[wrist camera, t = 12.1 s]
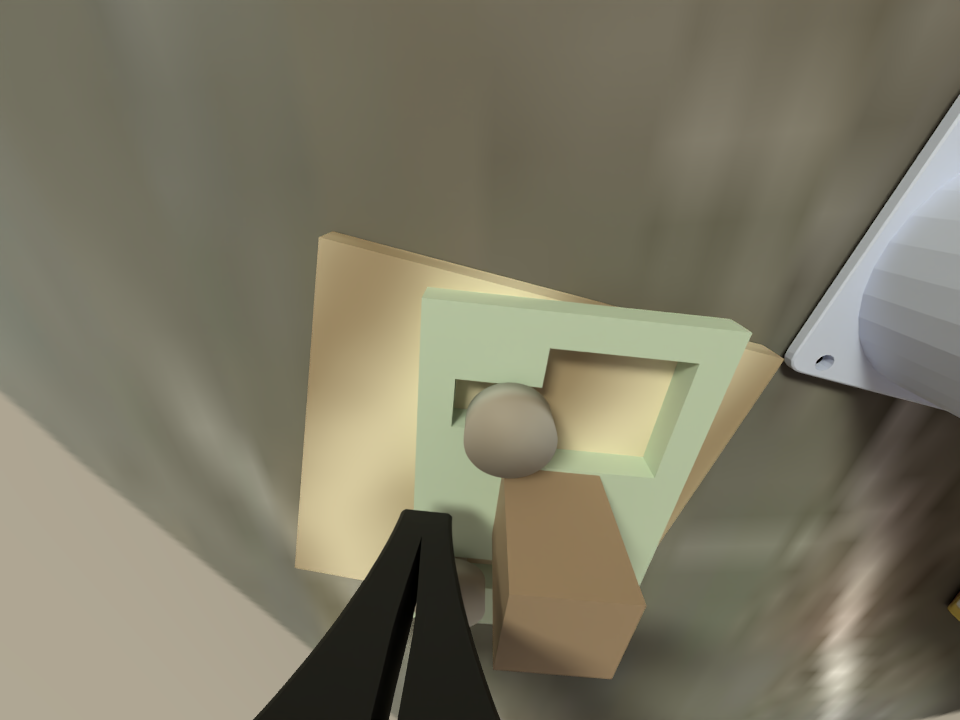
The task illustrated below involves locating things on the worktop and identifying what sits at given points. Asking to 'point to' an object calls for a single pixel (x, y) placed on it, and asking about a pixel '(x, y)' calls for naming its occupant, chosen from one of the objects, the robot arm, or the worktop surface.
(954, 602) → the candy box
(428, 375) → the keyhole panel
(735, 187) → the worktop surface
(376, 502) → the stud board
